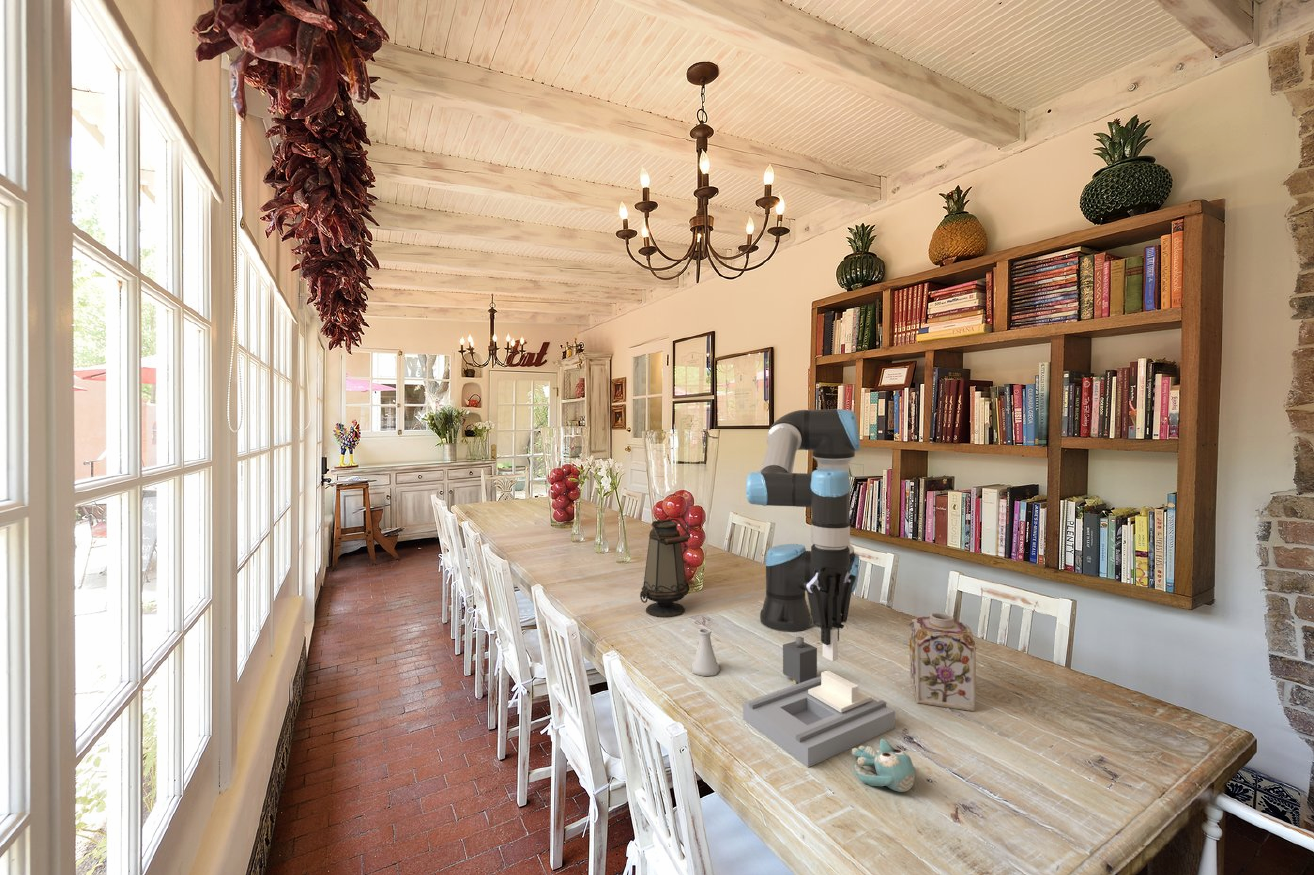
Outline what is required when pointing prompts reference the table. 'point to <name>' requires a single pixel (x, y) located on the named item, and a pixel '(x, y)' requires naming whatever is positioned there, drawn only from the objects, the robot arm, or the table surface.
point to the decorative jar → (943, 662)
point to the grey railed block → (815, 722)
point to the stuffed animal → (885, 767)
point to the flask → (705, 656)
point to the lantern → (665, 570)
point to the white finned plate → (838, 692)
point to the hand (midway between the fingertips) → (830, 657)
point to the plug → (799, 660)
